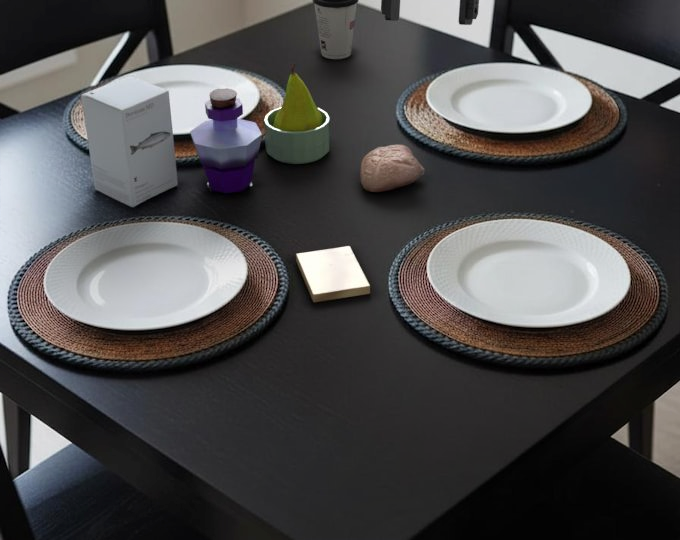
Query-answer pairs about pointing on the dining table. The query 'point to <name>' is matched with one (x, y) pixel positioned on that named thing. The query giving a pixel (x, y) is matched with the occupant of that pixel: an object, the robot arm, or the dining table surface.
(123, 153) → the white packaging box
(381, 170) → the brown rounded lump
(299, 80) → the fruit
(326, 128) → the bowl
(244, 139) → the potion bottle
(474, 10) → the robot arm
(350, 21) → the coffee cup
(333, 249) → the board
